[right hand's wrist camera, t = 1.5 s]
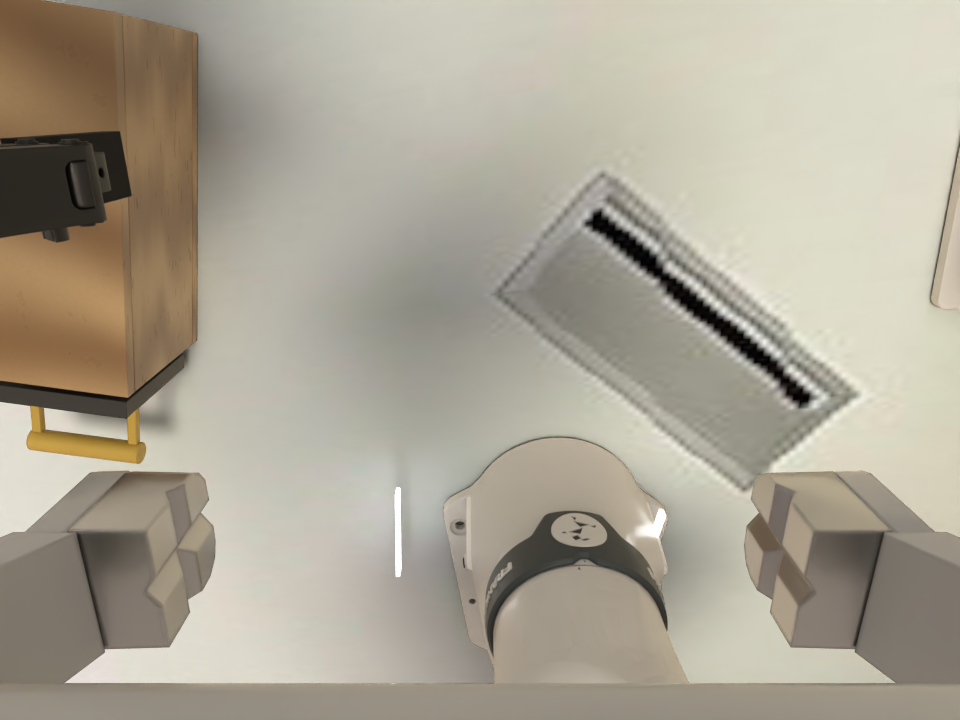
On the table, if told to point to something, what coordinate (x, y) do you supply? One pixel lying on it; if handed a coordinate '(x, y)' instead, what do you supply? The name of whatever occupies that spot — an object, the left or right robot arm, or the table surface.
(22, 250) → the cabinet
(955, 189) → the tablet stand
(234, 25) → the table surface
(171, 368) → the drawer
